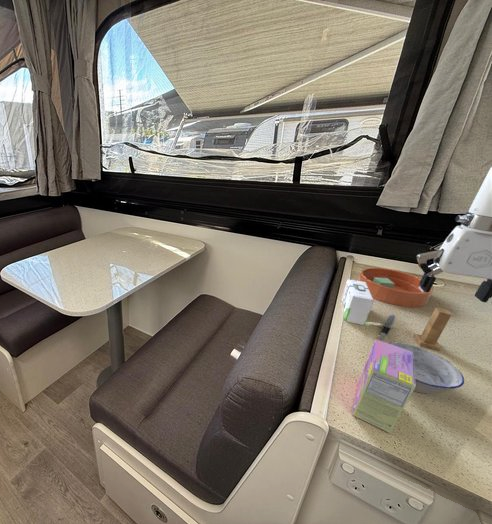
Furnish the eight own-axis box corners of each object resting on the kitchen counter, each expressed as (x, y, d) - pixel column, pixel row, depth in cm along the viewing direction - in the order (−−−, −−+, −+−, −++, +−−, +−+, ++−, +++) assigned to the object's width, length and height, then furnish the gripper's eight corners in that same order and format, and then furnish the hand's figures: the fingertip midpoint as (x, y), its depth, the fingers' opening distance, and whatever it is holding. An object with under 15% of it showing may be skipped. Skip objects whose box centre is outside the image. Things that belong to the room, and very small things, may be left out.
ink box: (344, 321, 78) (339, 302, 87) (365, 326, 75) (358, 305, 85) (352, 295, 74) (346, 278, 84) (375, 299, 72) (366, 281, 82)
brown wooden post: (433, 340, 70) (450, 308, 66) (440, 350, 66) (459, 317, 62) (413, 336, 71) (429, 304, 67) (419, 345, 68) (436, 313, 64)
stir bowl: (413, 287, 95) (419, 273, 93) (436, 314, 80) (445, 298, 78) (351, 277, 102) (355, 264, 100) (362, 300, 88) (367, 285, 85)
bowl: (442, 416, 51) (454, 398, 49) (363, 371, 61) (370, 355, 59) (462, 385, 57) (473, 368, 55) (387, 350, 67) (394, 334, 65)
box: (357, 381, 58) (375, 338, 53) (391, 396, 55) (415, 351, 50) (350, 415, 51) (371, 368, 46) (389, 434, 48) (416, 387, 43)
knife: (372, 336, 72) (386, 340, 70) (372, 333, 71) (387, 338, 69) (382, 313, 81) (396, 316, 79) (383, 310, 81) (396, 314, 79)
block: (383, 288, 94) (387, 278, 92) (390, 294, 90) (395, 283, 88) (370, 287, 94) (374, 277, 93) (377, 292, 91) (381, 282, 89)
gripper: (443, 223, 56) (409, 293, 63) (569, 234, 49) (515, 312, 56) (427, 215, 62) (398, 279, 70) (538, 224, 56) (493, 295, 63)
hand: (451, 294), depth 63 cm, fingers open, 9 cm apart
